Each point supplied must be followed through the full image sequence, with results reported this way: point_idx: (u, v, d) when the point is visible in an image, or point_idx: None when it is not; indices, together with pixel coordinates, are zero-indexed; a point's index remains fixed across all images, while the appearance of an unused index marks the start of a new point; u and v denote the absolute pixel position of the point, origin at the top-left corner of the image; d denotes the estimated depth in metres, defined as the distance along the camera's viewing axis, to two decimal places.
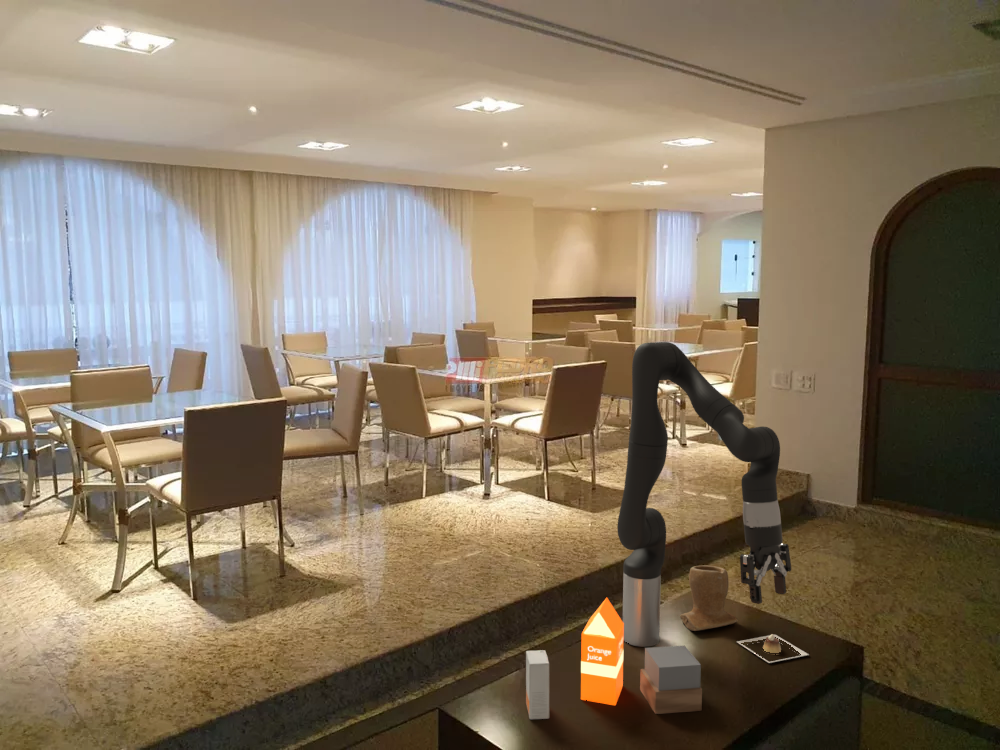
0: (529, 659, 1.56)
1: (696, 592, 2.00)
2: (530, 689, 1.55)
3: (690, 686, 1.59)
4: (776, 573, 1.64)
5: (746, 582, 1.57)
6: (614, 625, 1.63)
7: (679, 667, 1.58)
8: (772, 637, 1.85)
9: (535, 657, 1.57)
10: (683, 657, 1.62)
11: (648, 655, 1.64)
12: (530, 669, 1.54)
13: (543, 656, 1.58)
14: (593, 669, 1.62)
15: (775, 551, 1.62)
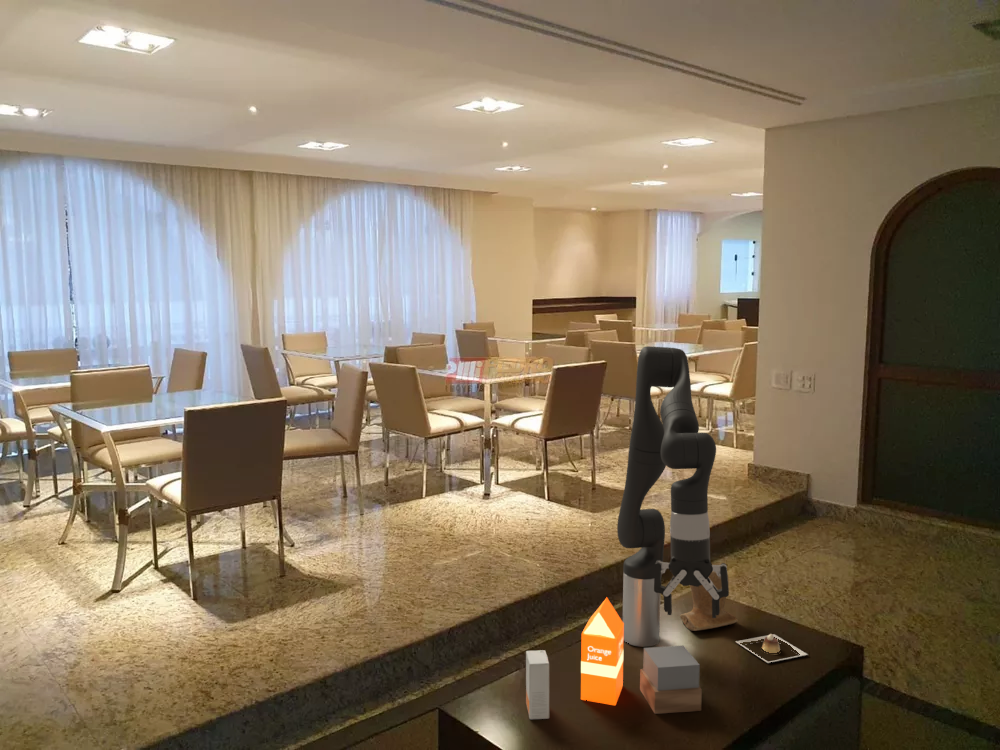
0: (529, 659, 1.56)
1: (696, 592, 2.00)
2: (530, 689, 1.55)
3: (689, 686, 1.59)
4: None
5: None
6: (614, 625, 1.63)
7: (678, 667, 1.58)
8: (771, 637, 1.85)
9: (535, 657, 1.57)
10: (682, 657, 1.62)
11: (647, 655, 1.64)
12: (530, 669, 1.54)
13: (543, 656, 1.58)
14: (593, 669, 1.62)
15: (701, 569, 1.49)
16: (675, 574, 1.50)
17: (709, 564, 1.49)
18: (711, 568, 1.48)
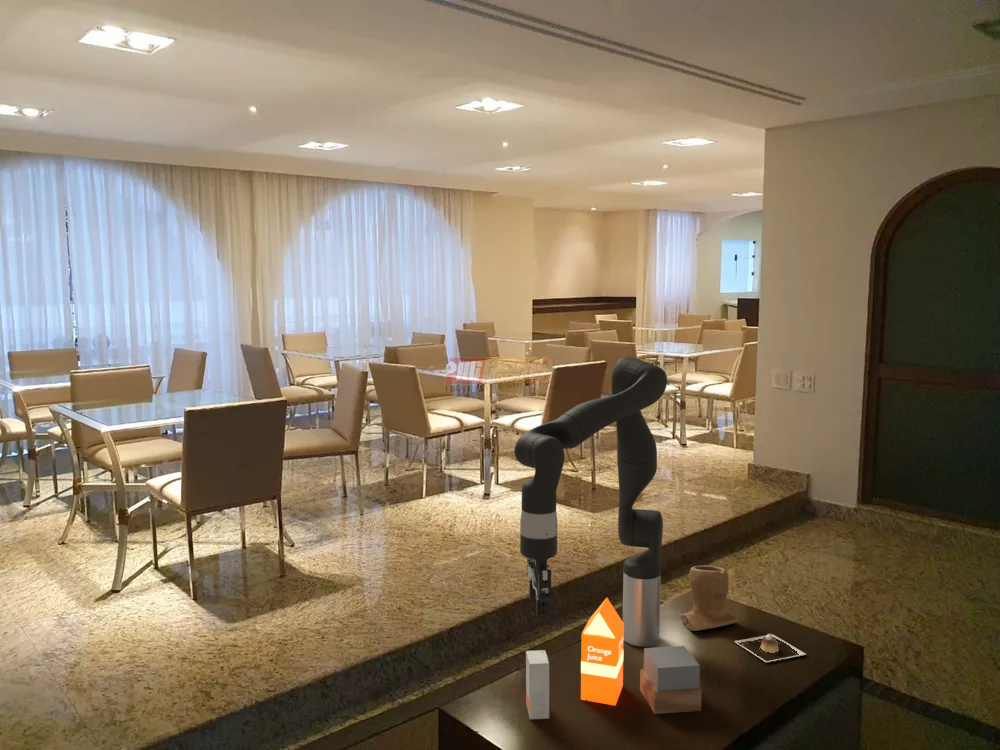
0: (529, 659, 1.56)
1: (696, 592, 2.00)
2: (530, 689, 1.55)
3: (689, 686, 1.59)
4: None
5: None
6: (614, 625, 1.63)
7: (678, 667, 1.58)
8: (769, 637, 1.85)
9: (535, 657, 1.57)
10: (682, 658, 1.61)
11: (647, 655, 1.64)
12: (530, 669, 1.54)
13: (543, 656, 1.58)
14: (593, 669, 1.62)
15: (535, 566, 1.53)
16: None
17: (537, 564, 1.52)
18: (537, 569, 1.51)
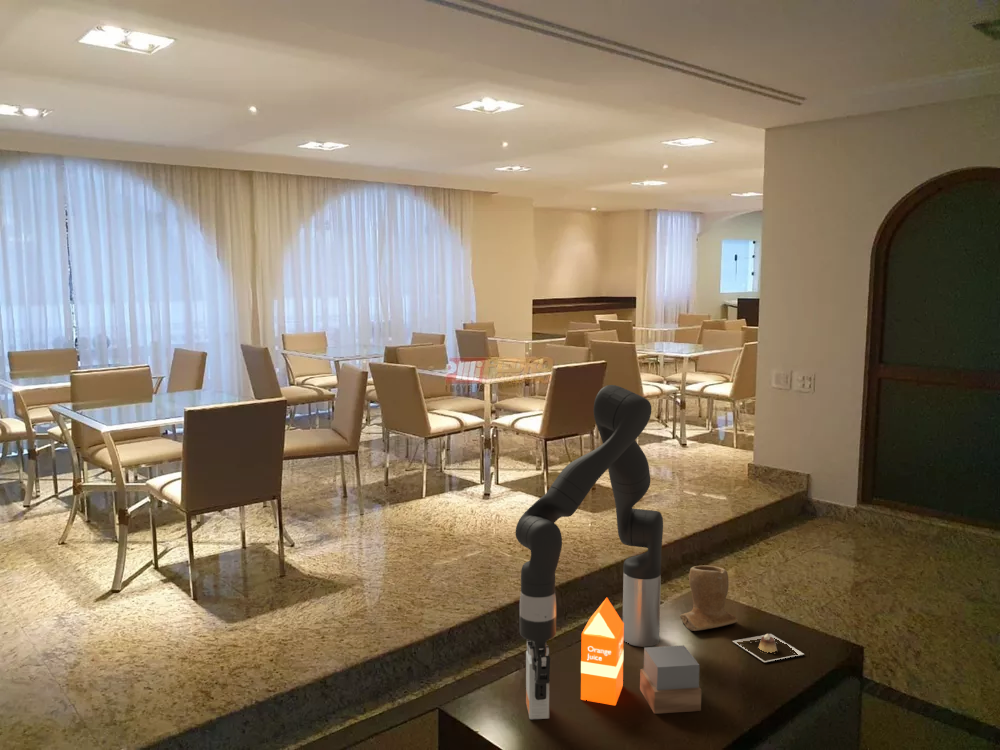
0: (529, 659, 1.56)
1: (696, 592, 2.00)
2: (530, 689, 1.55)
3: (689, 686, 1.59)
4: None
5: None
6: (614, 625, 1.63)
7: (678, 667, 1.58)
8: (768, 636, 1.86)
9: None
10: (682, 657, 1.62)
11: (647, 655, 1.64)
12: (530, 669, 1.54)
13: None
14: (593, 669, 1.62)
15: (534, 649, 1.55)
16: None
17: (536, 648, 1.53)
18: (537, 652, 1.53)
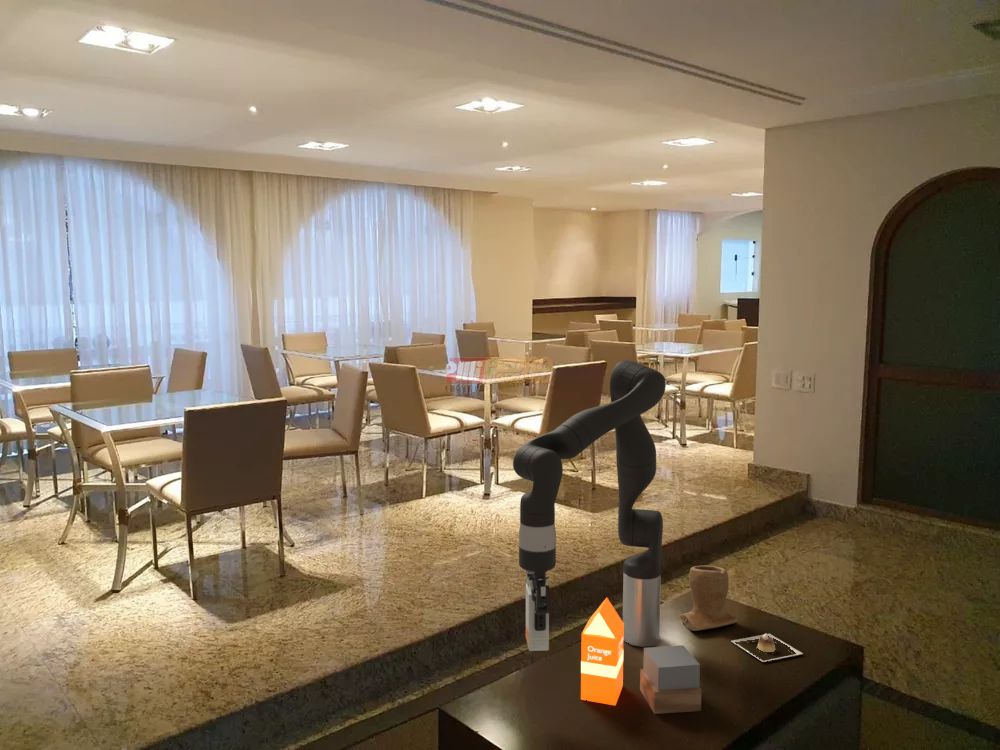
0: (528, 591, 1.55)
1: (696, 592, 2.00)
2: (529, 620, 1.54)
3: (689, 686, 1.59)
4: None
5: None
6: (614, 625, 1.63)
7: (678, 667, 1.58)
8: (766, 636, 1.86)
9: None
10: (682, 657, 1.62)
11: (647, 655, 1.64)
12: (529, 600, 1.53)
13: None
14: (593, 669, 1.62)
15: (533, 580, 1.53)
16: None
17: (536, 578, 1.52)
18: (536, 582, 1.52)
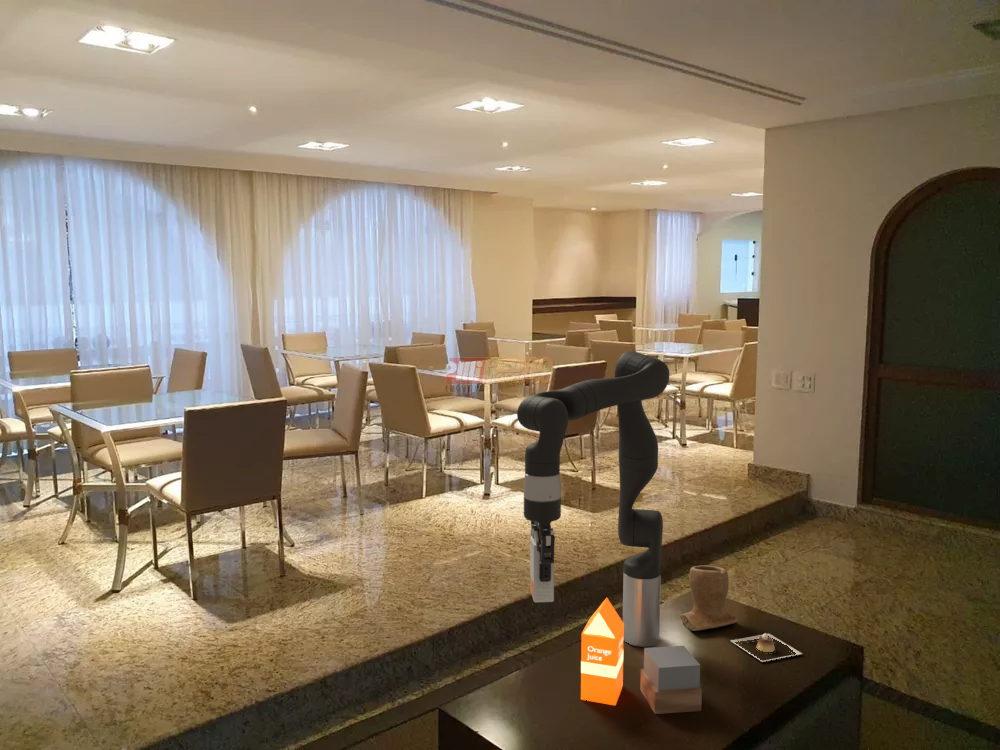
0: (533, 542, 1.54)
1: (696, 592, 2.00)
2: (534, 571, 1.53)
3: (689, 686, 1.59)
4: None
5: None
6: (614, 625, 1.63)
7: (679, 667, 1.58)
8: (766, 636, 1.86)
9: None
10: (682, 658, 1.62)
11: (647, 655, 1.64)
12: (534, 551, 1.52)
13: None
14: (593, 669, 1.62)
15: (538, 531, 1.53)
16: None
17: (541, 528, 1.51)
18: (541, 532, 1.51)
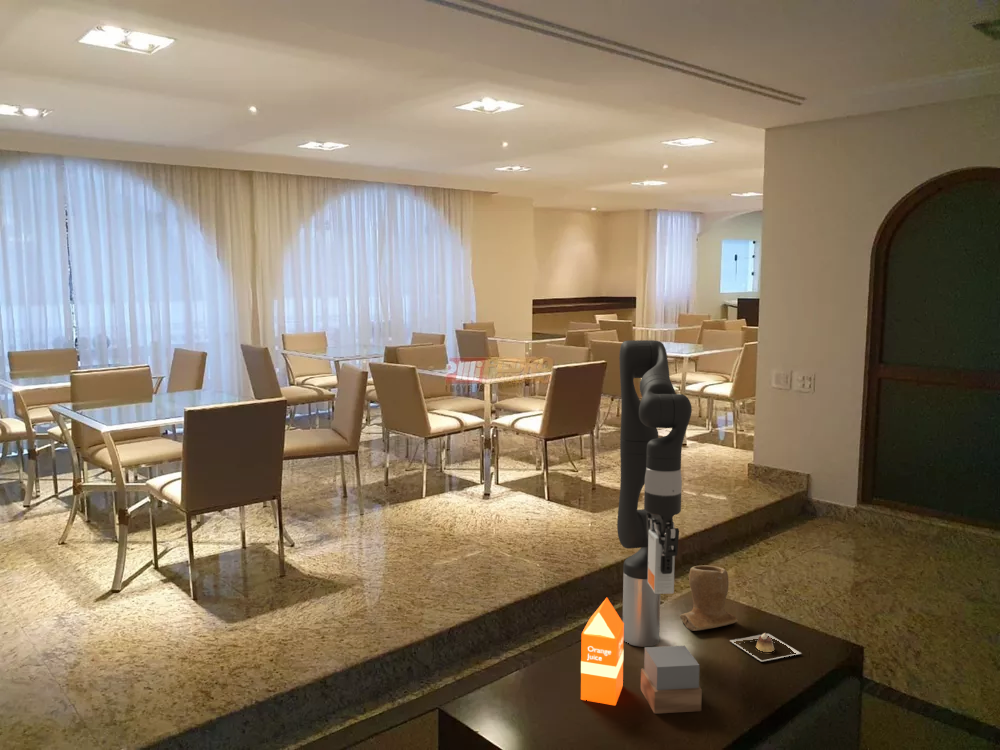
0: (654, 535, 1.58)
1: (696, 592, 2.00)
2: (656, 563, 1.57)
3: (689, 686, 1.59)
4: None
5: None
6: (614, 625, 1.63)
7: (677, 667, 1.58)
8: (765, 636, 1.86)
9: None
10: (682, 657, 1.62)
11: (647, 654, 1.64)
12: (656, 543, 1.56)
13: None
14: (593, 669, 1.62)
15: (660, 524, 1.57)
16: None
17: (664, 521, 1.55)
18: (664, 526, 1.55)
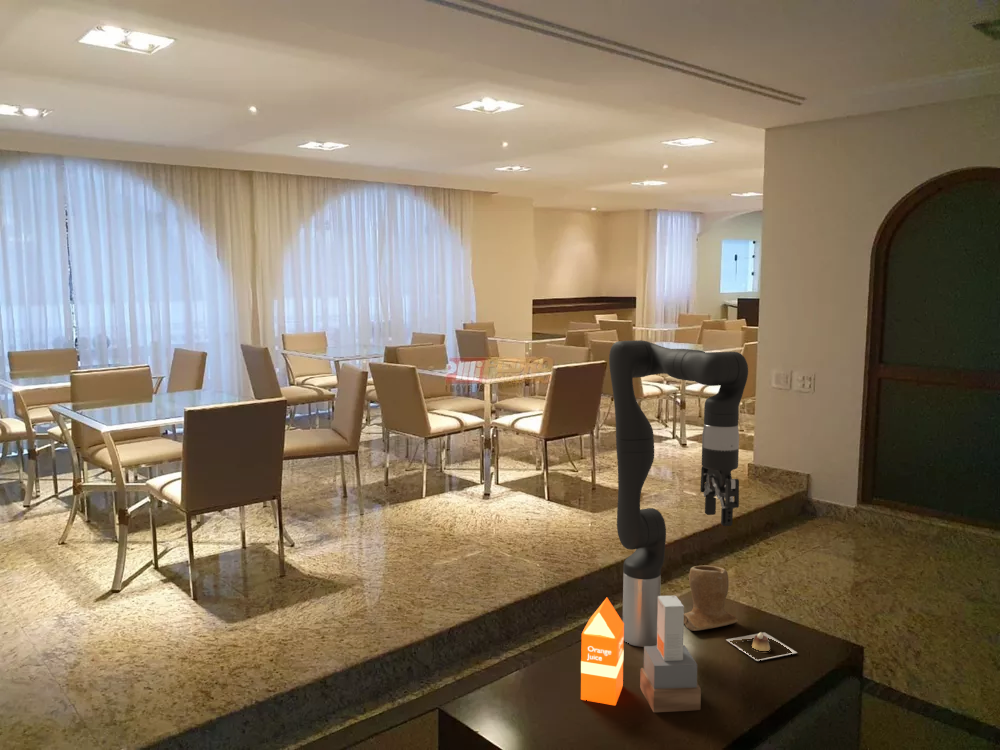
0: (663, 602, 1.61)
1: (696, 592, 2.00)
2: (665, 631, 1.59)
3: (686, 685, 1.59)
4: None
5: None
6: (614, 625, 1.63)
7: (675, 666, 1.58)
8: (761, 635, 1.86)
9: (668, 601, 1.62)
10: None
11: (646, 653, 1.65)
12: (665, 612, 1.59)
13: (676, 600, 1.62)
14: (593, 669, 1.62)
15: (718, 478, 1.61)
16: None
17: (722, 475, 1.59)
18: (723, 479, 1.59)
